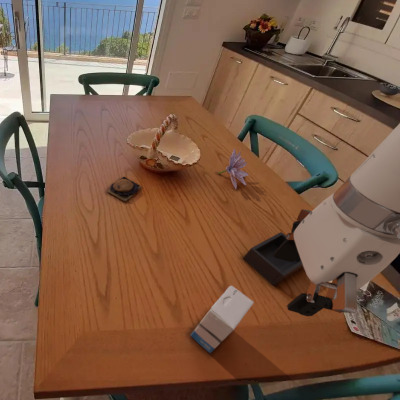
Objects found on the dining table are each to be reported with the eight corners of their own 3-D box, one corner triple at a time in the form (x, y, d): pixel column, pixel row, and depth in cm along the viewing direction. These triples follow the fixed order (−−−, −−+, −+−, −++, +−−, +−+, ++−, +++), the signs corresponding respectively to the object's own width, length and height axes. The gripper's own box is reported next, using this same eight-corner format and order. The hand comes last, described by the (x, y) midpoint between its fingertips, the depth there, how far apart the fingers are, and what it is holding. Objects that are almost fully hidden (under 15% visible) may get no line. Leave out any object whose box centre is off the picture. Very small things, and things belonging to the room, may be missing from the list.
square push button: (125, 203, 87) (127, 195, 84) (105, 191, 90) (106, 183, 88) (142, 188, 93) (145, 180, 90) (122, 177, 97) (124, 169, 94)
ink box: (209, 354, 55) (234, 331, 47) (188, 334, 57) (208, 309, 49) (230, 327, 59) (256, 302, 51) (209, 310, 62) (231, 283, 54)
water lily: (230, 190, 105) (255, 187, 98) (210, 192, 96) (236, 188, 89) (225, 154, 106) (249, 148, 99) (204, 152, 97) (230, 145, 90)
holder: (303, 266, 72) (314, 256, 69) (273, 285, 67) (284, 276, 64) (272, 242, 78) (281, 231, 75) (242, 258, 73) (250, 248, 70)
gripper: (472, 278, 24) (337, 346, 36) (377, 170, 36) (300, 247, 48) (375, 254, 25) (275, 328, 37) (316, 158, 38) (255, 236, 49)
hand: (289, 282), depth 42 cm, fingers open, 9 cm apart
